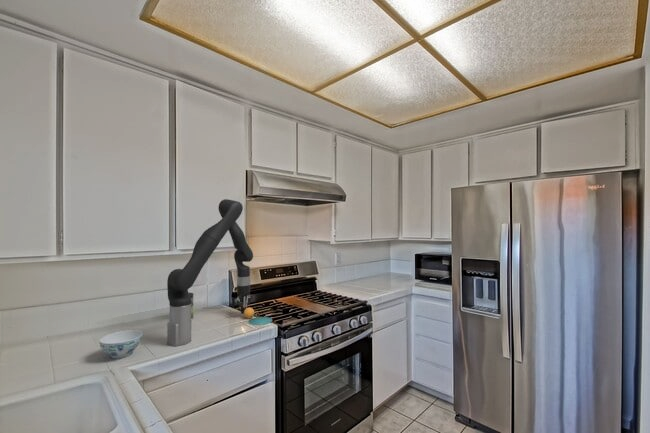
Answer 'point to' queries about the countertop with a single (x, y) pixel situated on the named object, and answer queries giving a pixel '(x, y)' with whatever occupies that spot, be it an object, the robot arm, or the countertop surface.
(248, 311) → the ball
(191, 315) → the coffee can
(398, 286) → the countertop surface
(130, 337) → the chinaware
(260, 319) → the disc
